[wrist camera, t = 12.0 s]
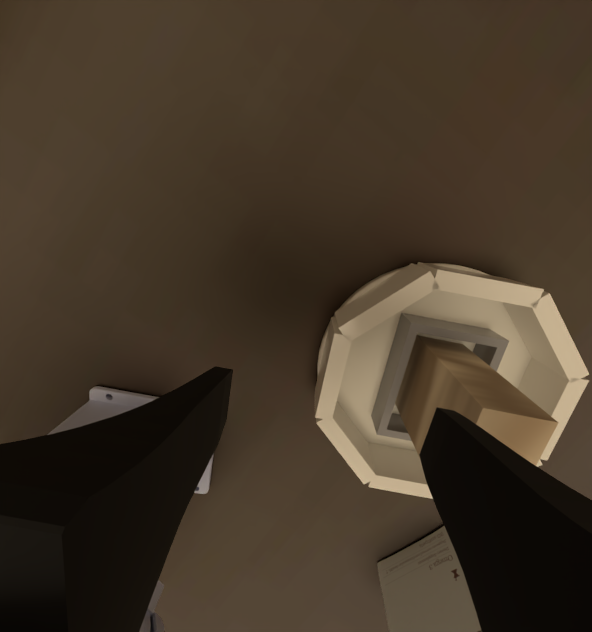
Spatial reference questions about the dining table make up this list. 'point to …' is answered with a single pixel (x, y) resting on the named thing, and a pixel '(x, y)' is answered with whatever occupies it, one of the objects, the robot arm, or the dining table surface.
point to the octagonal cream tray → (444, 324)
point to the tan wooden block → (469, 398)
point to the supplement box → (427, 588)
